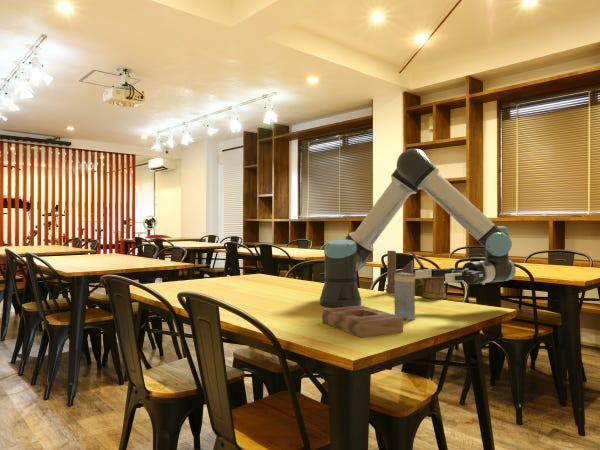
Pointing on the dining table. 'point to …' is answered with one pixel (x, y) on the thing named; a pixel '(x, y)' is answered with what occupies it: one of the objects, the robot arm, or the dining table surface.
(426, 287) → the wooden mug
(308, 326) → the dining table surface
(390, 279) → the wooden block
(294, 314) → the dining table surface
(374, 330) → the walnut post block
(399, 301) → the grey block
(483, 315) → the dining table surface
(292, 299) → the dining table surface
